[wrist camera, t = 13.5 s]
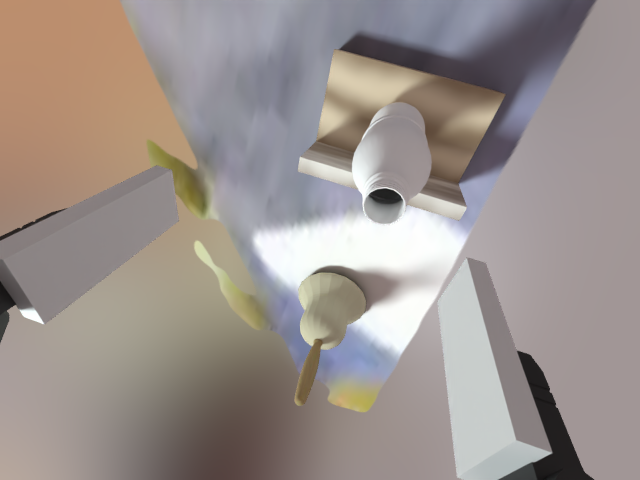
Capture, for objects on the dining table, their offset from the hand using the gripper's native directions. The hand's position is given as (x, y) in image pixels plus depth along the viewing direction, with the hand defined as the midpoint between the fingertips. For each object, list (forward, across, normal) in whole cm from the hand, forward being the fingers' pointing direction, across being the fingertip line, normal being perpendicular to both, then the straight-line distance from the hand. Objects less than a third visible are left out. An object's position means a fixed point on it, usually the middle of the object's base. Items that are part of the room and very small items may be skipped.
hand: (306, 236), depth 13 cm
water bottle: (+33, +4, -2) cm, 34 cm away
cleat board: (+36, +4, -1) cm, 36 cm away
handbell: (+36, +2, -40) cm, 54 cm away
